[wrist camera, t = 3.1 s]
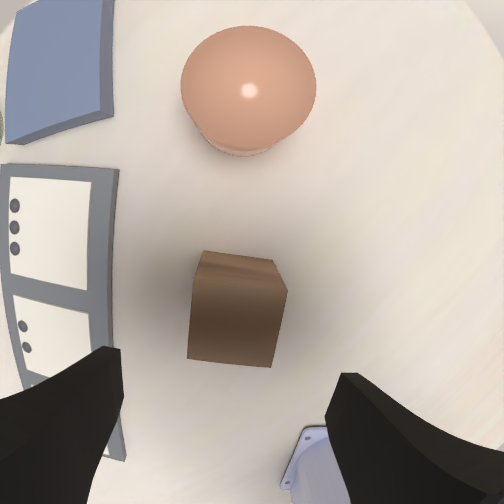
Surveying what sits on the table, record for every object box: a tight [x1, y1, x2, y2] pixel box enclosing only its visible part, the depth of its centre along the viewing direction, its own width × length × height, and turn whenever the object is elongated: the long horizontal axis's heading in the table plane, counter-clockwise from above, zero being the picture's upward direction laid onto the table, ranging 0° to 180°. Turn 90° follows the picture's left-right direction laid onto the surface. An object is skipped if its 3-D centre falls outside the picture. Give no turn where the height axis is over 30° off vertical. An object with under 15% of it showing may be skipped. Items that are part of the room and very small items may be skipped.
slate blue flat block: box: [5, 0, 114, 145], centre depth 13 cm, size 10×7×2 cm
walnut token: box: [187, 251, 288, 368], centre depth 16 cm, size 4×4×5 cm
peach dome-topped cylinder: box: [181, 26, 316, 156], centre depth 13 cm, size 5×5×6 cm
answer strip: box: [0, 164, 126, 462], centre depth 18 cm, size 24×9×1 cm, turn 171°
